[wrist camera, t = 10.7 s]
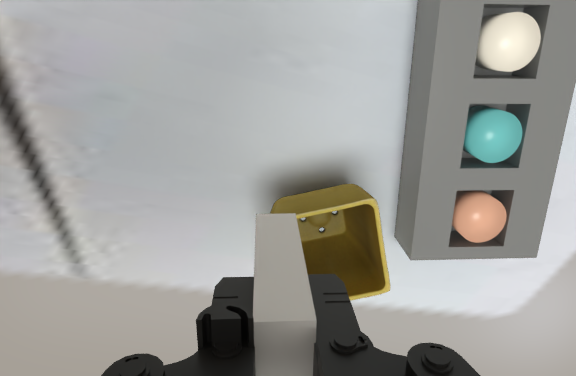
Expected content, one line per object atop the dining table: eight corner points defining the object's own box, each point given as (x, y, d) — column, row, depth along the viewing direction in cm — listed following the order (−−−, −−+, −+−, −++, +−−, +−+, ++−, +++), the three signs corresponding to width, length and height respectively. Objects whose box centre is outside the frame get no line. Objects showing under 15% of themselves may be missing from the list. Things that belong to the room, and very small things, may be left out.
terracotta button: (440, 228, 42) (454, 243, 39) (446, 185, 40) (461, 197, 37) (484, 227, 42) (501, 242, 39) (491, 185, 40) (510, 196, 37)
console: (394, 236, 44) (410, 260, 39) (418, -8, 36) (442, -16, 32) (507, 234, 45) (536, 257, 40) (554, -6, 37) (596, -13, 32)
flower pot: (283, 262, 44) (288, 314, 36) (264, 184, 41) (265, 221, 33) (366, 244, 44) (391, 292, 36) (353, 164, 41) (377, 196, 33)
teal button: (451, 153, 39) (467, 163, 36) (457, 105, 38) (474, 111, 35) (497, 153, 39) (517, 162, 36) (505, 105, 38) (526, 111, 35)
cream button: (462, 69, 37) (480, 71, 34) (470, 14, 35) (489, 11, 32) (512, 69, 37) (534, 71, 34) (521, 14, 36) (545, 12, 33)
